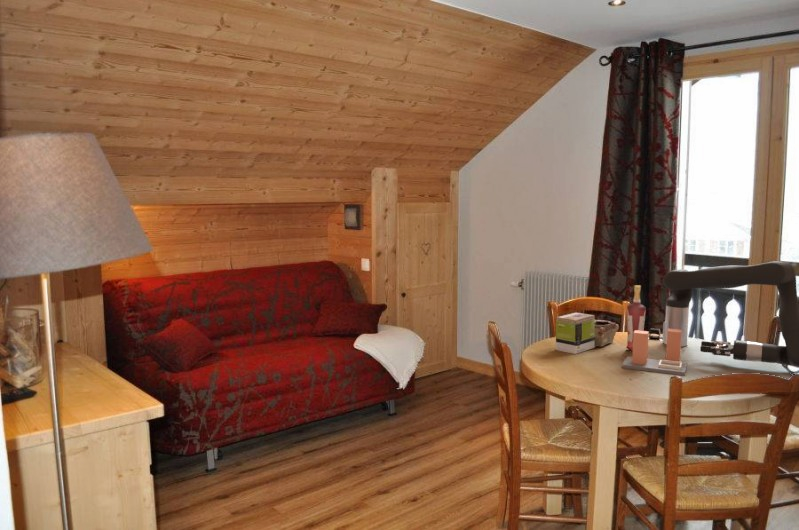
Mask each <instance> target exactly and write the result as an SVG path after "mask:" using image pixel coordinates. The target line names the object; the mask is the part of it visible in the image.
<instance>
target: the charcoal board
mask: <svg viewBox="0 0 799 530" xmlns="http://www.w3.org/2000/svg"><path fill="white" fill-rule="evenodd" d="M649 331H650V330H649ZM649 331H647V330H644V331H639V330H635V331H634V333H633V352H632V356H629V355H628V356H626V358H625V359H624V360H623V363H622V364H621V366H622V369H628V370H636V371H645V372H651V373H652V372H653V373H660V374H661V373H662V374H667V375H668V374H669V375H670V374H671V375H679V376H683V377H684V376H686V373H687V367H688V363H687V362H683V361H680V362H677V361H668V360H666V359H654V358H648V356H649V355H648V354H649V353H648V352H649V339H648V336H649Z"/></svg>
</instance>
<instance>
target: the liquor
mask: <svg viewBox="0 0 799 530" xmlns="http://www.w3.org/2000/svg"><path fill="white" fill-rule="evenodd" d="M641 290H642V285H640V284H639V285H637V284H636V285H633V292H634V294H633V300H632V303H631V304H628V305H627V307H626V308H627V312H626V314H627V315H626V316H627V317H626V318H627V320H626V321H627V322H626V323H627V343H626V347H625V348H626V349H627V350H628V351H629V352H631V353H633V333H634V331H635V330H639V331H645V329H644V328H645V321H646V311H647V310H646V309H647V307H646V306H645V305H643V304H641Z"/></svg>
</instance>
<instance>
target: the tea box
mask: <svg viewBox="0 0 799 530" xmlns="http://www.w3.org/2000/svg"><path fill="white" fill-rule="evenodd" d="M595 320H596V316H595V314H590V313H589V314H588V313H581V312H572V313H568V314H564V315H559V316H556V317H555V350H556V351H557V352H564V353H568V354H573V355H576V354H579V353H583V352H586V351H588V350H591V349H595V347H594V346H595V340H594V339H595Z"/></svg>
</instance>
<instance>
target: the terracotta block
mask: <svg viewBox="0 0 799 530" xmlns="http://www.w3.org/2000/svg"><path fill="white" fill-rule="evenodd" d="M681 337H682V330H678V329H668V331H667V345H666V353H665V355H666V356H665V360H668V361H677V362H681V353H682V351H681V350H682V347H681Z"/></svg>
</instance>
